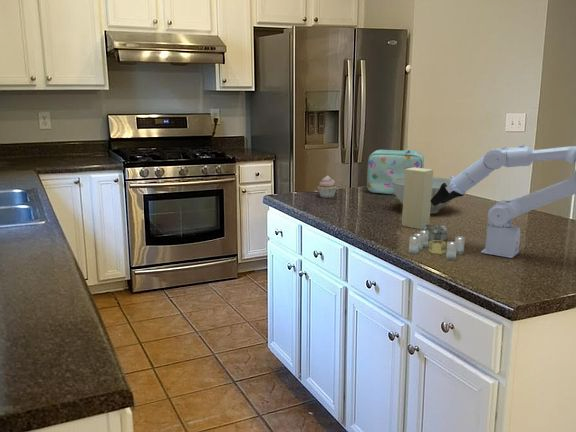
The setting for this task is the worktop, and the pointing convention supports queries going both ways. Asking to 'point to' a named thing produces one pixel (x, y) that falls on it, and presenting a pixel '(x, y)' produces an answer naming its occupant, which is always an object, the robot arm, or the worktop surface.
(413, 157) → the lunch box
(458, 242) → the cylinder
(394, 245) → the worktop surface
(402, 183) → the decorative bowl
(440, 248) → the nut
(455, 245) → the cylinder
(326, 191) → the cupcake
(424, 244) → the cylinder
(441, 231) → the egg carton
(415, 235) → the cylinder
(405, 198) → the beige rectangular block
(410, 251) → the cylinder
